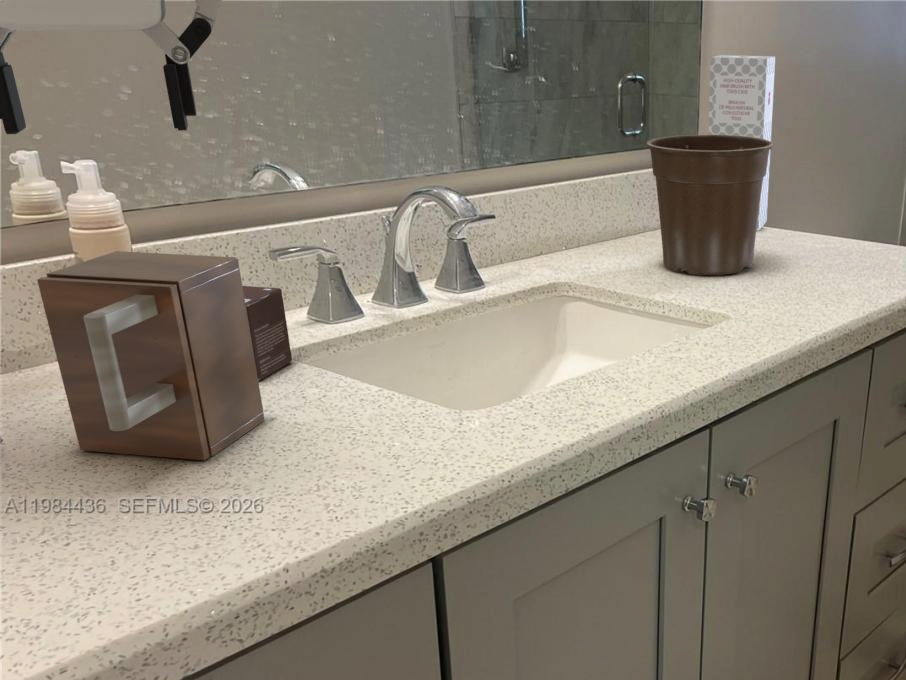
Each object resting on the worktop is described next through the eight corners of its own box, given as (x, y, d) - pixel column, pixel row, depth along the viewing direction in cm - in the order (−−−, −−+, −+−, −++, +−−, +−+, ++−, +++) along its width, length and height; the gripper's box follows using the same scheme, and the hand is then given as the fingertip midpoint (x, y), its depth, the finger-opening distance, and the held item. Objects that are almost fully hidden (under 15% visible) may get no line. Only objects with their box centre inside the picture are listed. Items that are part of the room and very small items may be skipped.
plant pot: (668, 284, 132) (670, 150, 125) (631, 256, 145) (631, 135, 138) (785, 276, 136) (793, 147, 129) (739, 250, 150) (744, 133, 143)
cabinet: (212, 457, 80) (178, 281, 74) (89, 447, 81) (46, 273, 75) (265, 420, 87) (238, 257, 81) (151, 411, 88) (116, 250, 82)
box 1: (238, 357, 102) (225, 283, 99) (294, 362, 101) (283, 287, 98) (200, 377, 97) (186, 299, 93) (259, 382, 96) (246, 303, 92)
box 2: (705, 227, 165) (710, 57, 155) (716, 218, 173) (721, 55, 162) (758, 230, 164) (766, 58, 153) (766, 221, 171) (775, 56, 160)
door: (155, 494, 73) (113, 309, 68) (22, 483, 75) (-30, 300, 69) (210, 456, 80) (176, 284, 74) (86, 446, 81) (44, 276, 75)
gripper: (198, -164, 66) (243, 121, 73) (-125, -185, 60) (-41, 127, 68) (194, -182, 60) (244, 133, 67) (-166, -206, 54) (-69, 140, 61)
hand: (101, 130), depth 67 cm, fingers open, 9 cm apart
